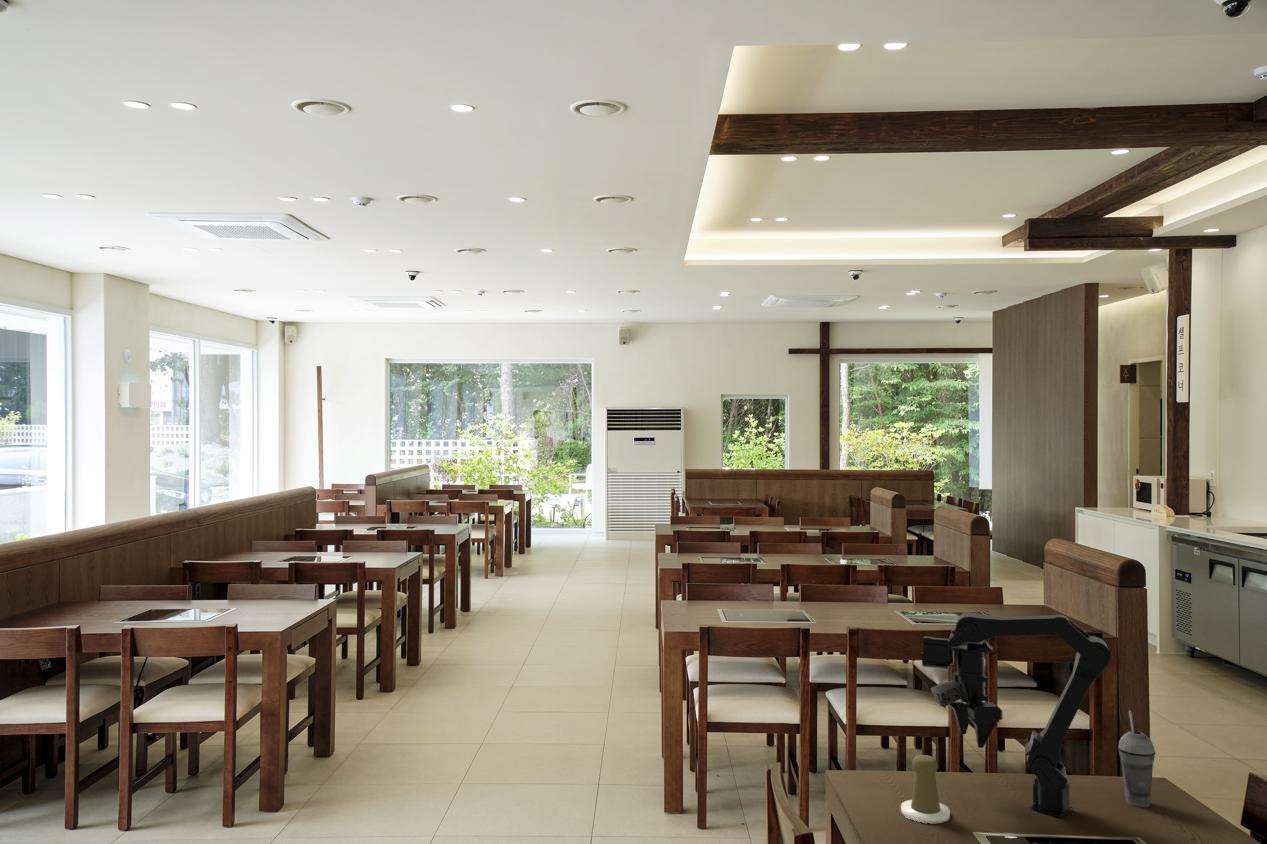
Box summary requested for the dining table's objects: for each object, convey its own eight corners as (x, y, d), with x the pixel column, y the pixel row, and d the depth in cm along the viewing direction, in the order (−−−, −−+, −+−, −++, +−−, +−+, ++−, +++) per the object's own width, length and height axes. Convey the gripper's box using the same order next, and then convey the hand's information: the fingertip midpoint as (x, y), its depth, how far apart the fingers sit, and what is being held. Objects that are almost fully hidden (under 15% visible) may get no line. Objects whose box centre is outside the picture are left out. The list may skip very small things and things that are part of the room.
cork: (946, 812, 193) (945, 760, 193) (920, 815, 192) (919, 762, 192) (930, 801, 199) (929, 750, 199) (905, 804, 198) (904, 753, 198)
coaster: (959, 815, 194) (959, 809, 195) (932, 827, 188) (932, 822, 188) (919, 801, 202) (918, 795, 202) (891, 812, 196) (891, 807, 196)
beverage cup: (1149, 812, 195) (1147, 718, 195) (1113, 802, 200) (1111, 711, 201) (1162, 803, 200) (1159, 711, 200) (1126, 794, 205) (1124, 704, 206)
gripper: (919, 661, 213) (920, 728, 212) (952, 682, 194) (953, 756, 194) (966, 660, 213) (967, 727, 213) (1003, 681, 195) (1004, 754, 194)
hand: (971, 740), depth 203 cm, fingers open, 9 cm apart
